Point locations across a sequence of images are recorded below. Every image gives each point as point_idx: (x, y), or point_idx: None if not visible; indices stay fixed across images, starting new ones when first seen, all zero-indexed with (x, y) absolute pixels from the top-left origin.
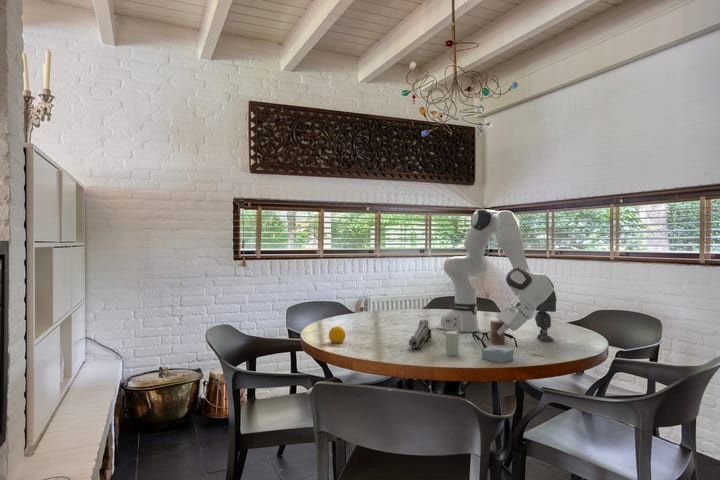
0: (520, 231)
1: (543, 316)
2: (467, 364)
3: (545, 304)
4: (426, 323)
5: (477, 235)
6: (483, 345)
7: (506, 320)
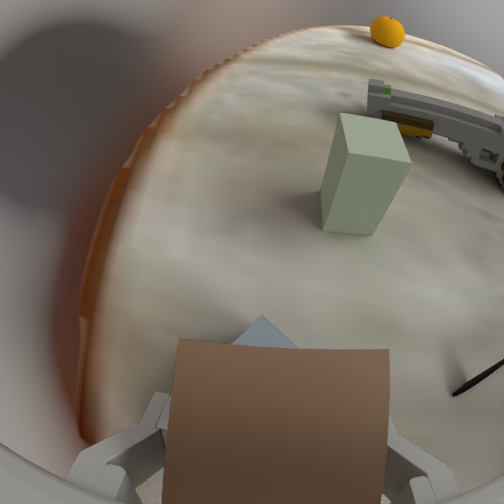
0: None
1: None
2: (160, 236)
3: None
4: None
5: None
6: (477, 376)
7: (19, 501)
